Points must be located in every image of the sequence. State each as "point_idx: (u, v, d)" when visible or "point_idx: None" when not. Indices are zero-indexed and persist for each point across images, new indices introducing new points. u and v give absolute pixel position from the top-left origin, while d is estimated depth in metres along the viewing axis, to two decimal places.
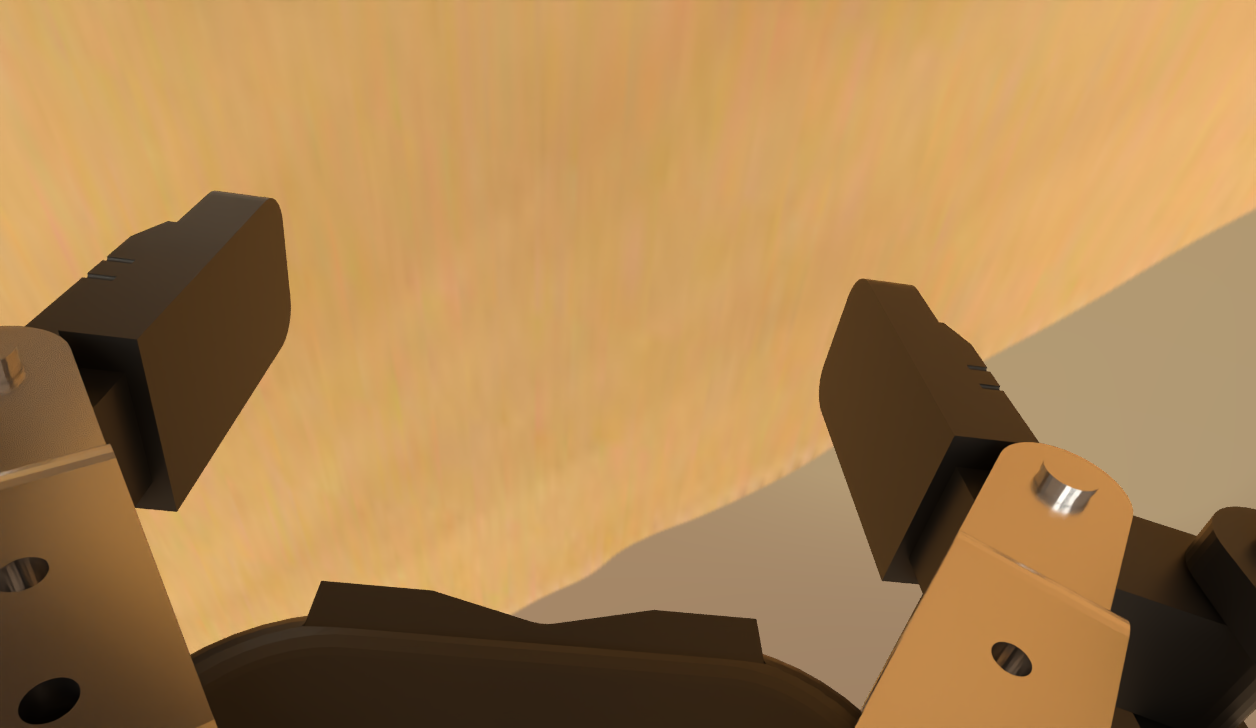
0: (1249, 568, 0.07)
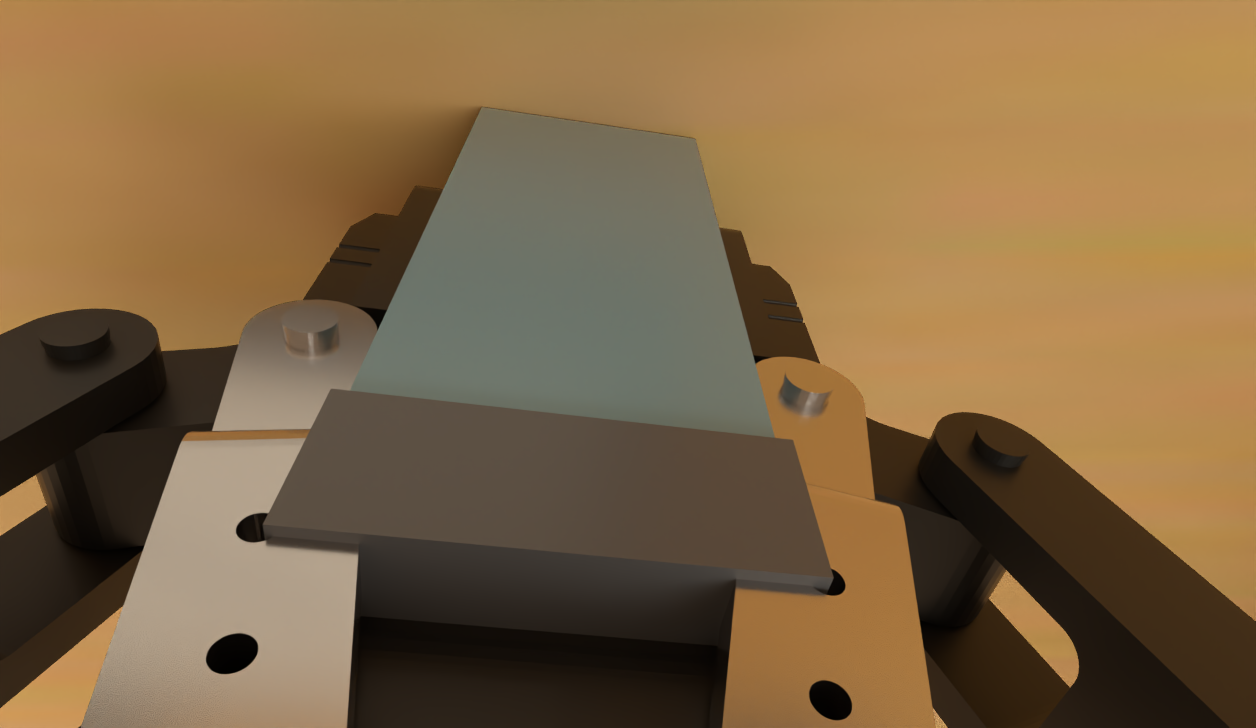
0: (955, 460, 0.07)
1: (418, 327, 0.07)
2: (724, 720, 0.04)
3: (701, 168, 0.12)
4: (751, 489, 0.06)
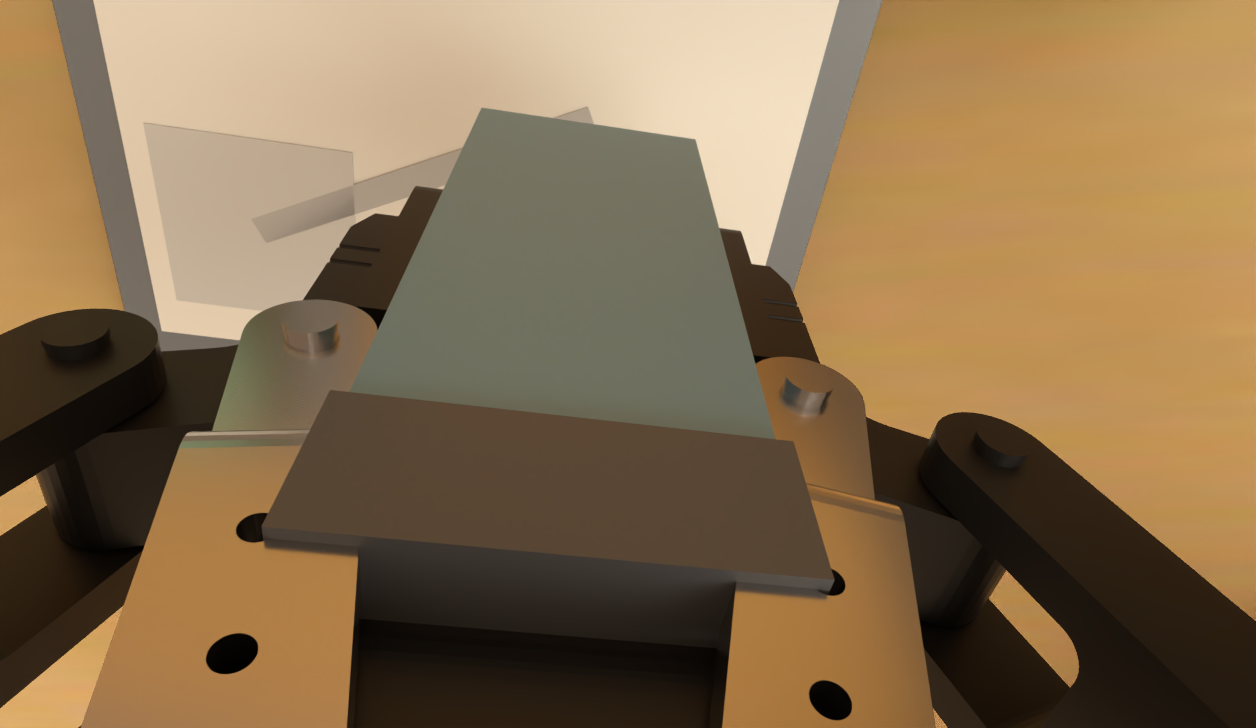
0: (955, 460, 0.07)
1: (417, 328, 0.07)
2: (725, 720, 0.04)
3: (701, 169, 0.11)
4: (751, 490, 0.06)
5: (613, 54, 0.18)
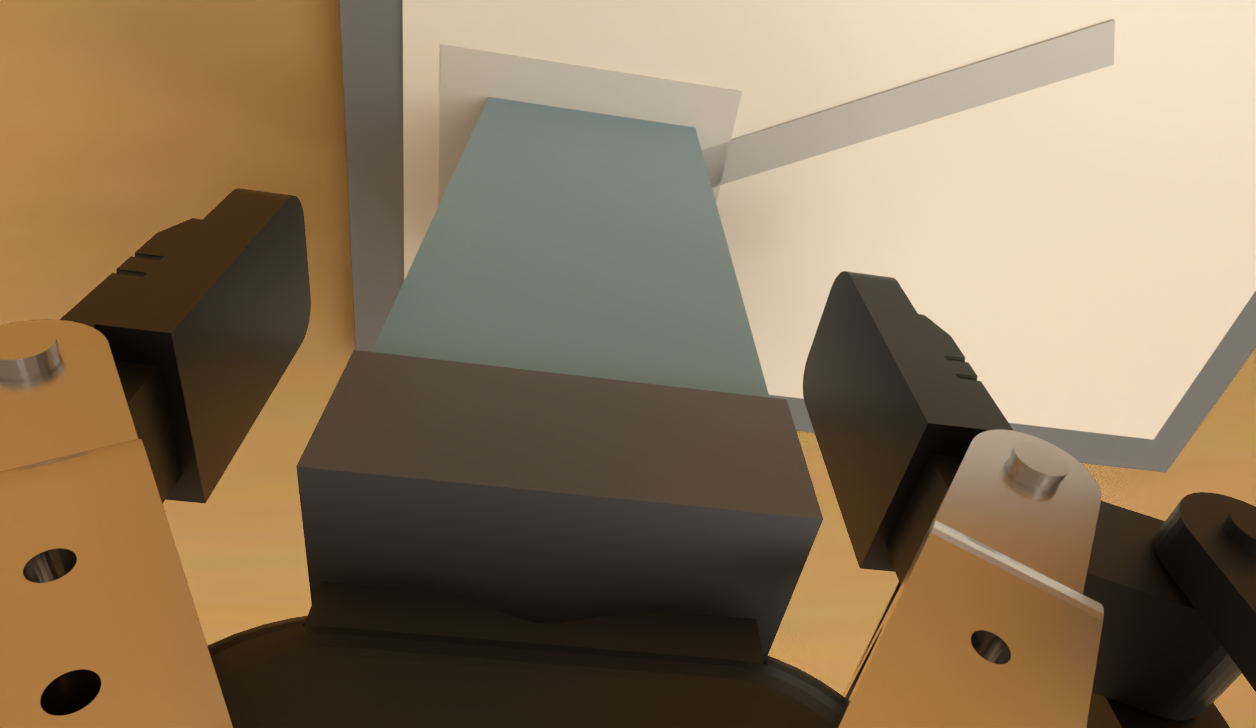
0: (1213, 552, 0.07)
1: (433, 297, 0.07)
2: None
3: (701, 155, 0.12)
4: (747, 442, 0.06)
5: None
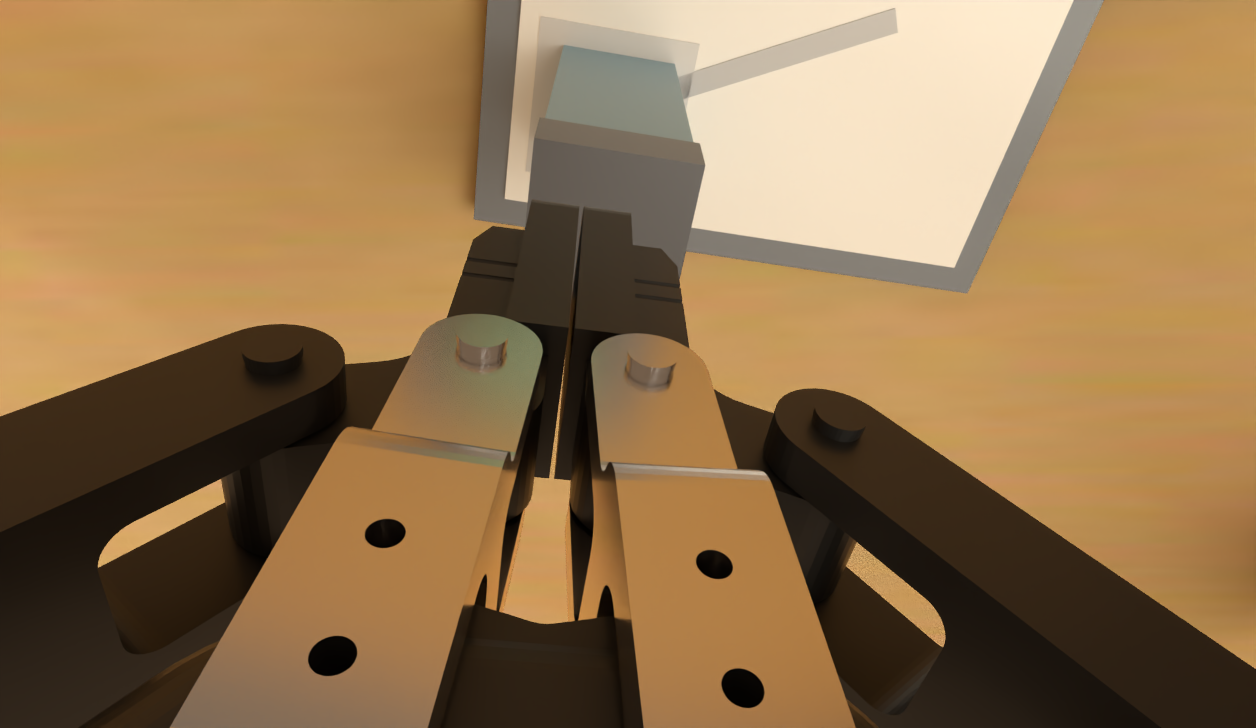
0: (789, 434, 0.07)
1: (561, 109, 0.18)
2: None
3: (676, 75, 0.23)
4: (682, 149, 0.17)
5: None
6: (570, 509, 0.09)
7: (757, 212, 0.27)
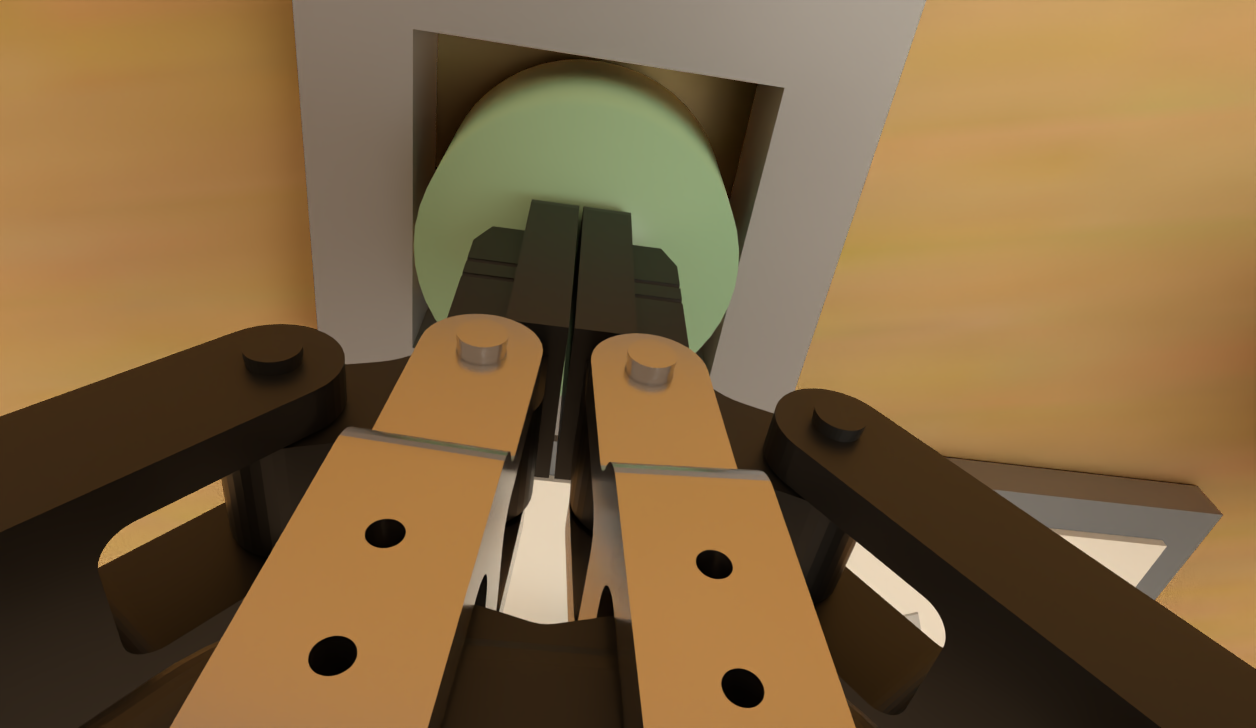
0: (789, 434, 0.07)
1: None
2: None
3: None
4: None
5: None
6: (570, 509, 0.09)
7: None
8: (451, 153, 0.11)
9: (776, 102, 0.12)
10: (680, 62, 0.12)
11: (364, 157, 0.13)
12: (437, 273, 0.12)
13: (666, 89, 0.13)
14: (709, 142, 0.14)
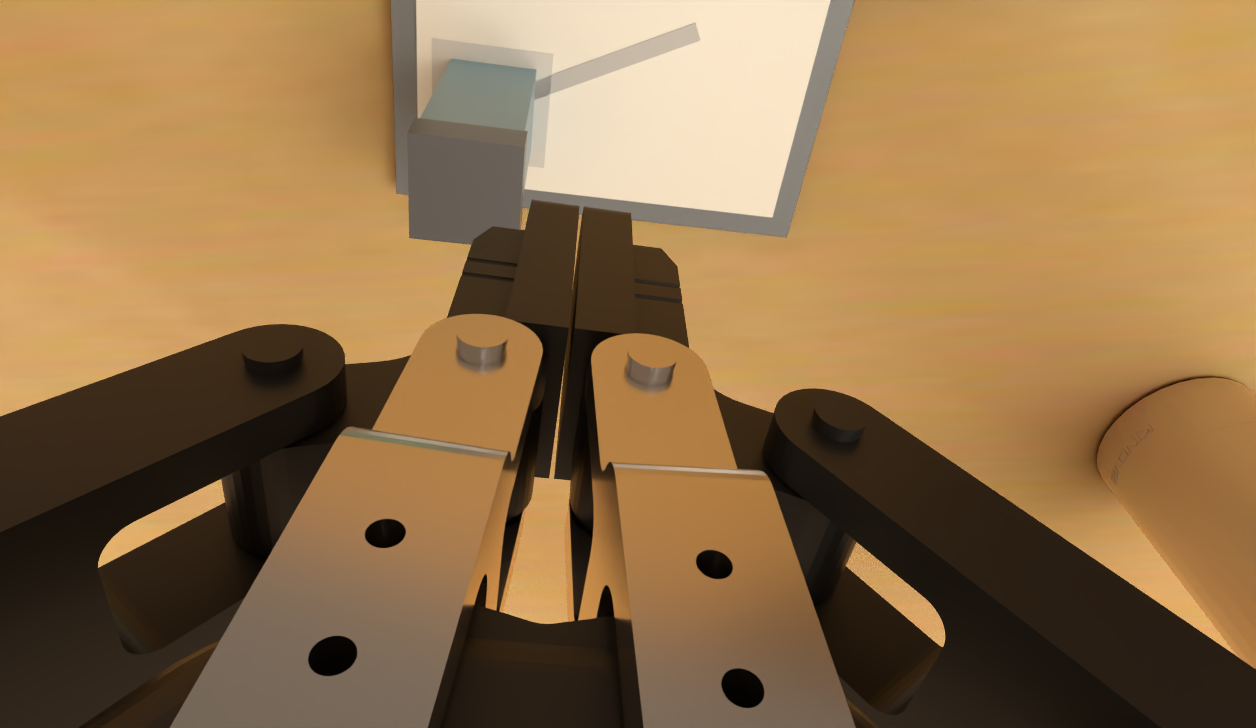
0: (789, 434, 0.07)
1: (434, 111, 0.26)
2: None
3: (533, 79, 0.31)
4: (512, 136, 0.25)
5: None
6: (570, 509, 0.09)
7: (614, 180, 0.35)
8: None
9: None
10: None
11: None
12: None
13: None
14: None
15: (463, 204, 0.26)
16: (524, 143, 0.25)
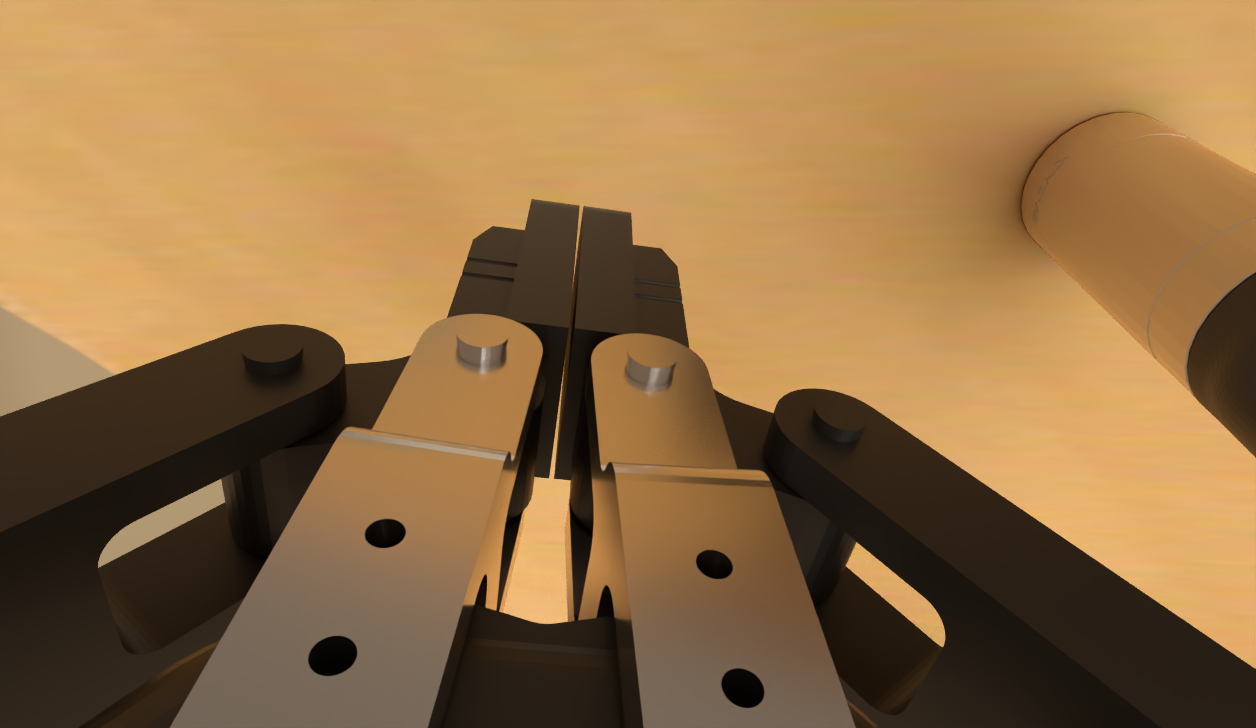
0: (789, 435, 0.07)
1: None
2: None
3: None
4: None
5: None
6: (570, 509, 0.09)
7: None
8: None
9: None
10: None
11: None
12: None
13: None
14: None
15: None
16: None
